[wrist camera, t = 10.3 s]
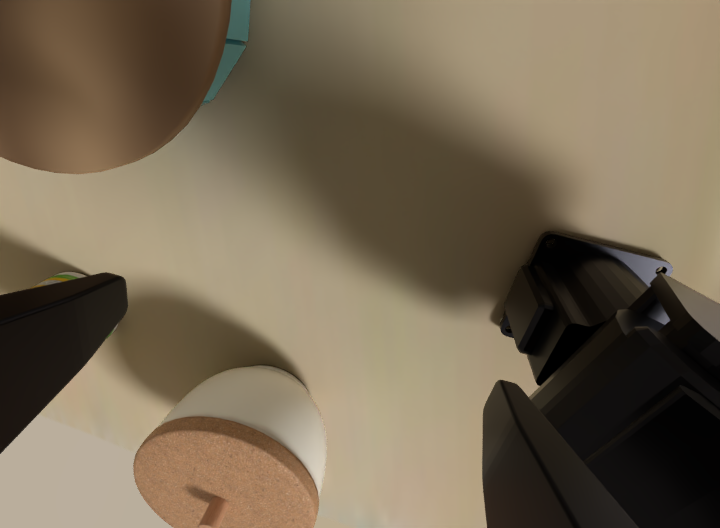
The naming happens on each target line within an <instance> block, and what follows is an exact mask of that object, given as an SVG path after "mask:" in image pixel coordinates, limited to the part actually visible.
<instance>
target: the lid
mask: <svg viewBox="0 0 720 528" xmlns="http://www.w3.org/2000/svg"><path fill="white" fill-rule="evenodd" d="M231 3H232V0H0V157H2V158H5V159H7V160H9V161H12V162H15V163H18V164H21V165H24V166H27V167H30V168H34V169H38V170H44V171H49V172H54V173H68V174H84V173H94V172H102V171H105V170H109V169H112V168H116V167H119V166H123V165H126V164H129V163H132V162H135V161H138V160H140V159H142V158H144V157H146V156H148V155H150V154H152V153H154V152H156V151H157V150H158V149H160V148H161V147H163V146H164V145H165V144H167V143H168V142H170V141H171V140H172V139H173V138H174V137H175V136H176V135H177V134H178V133H179V132H180V131H181V130H182V129H183V128H184V127H185V126H186V125H187V124H188V123H189V121H190V120H191V118H192V117H193V116H194V114H195V113H196V111H197V110H198V109H199V107H200V106H201V104H202V103H203V101H204V99H205V97H206V95H207V93H208V91H209V89H210V87H211V85H212V83H213V81H214V78H215V75H216V72H217V69H218V66H219V64H220V61H221V58H222V55H223V51H224V47H225V42H226V37H227V32H228V28H229V23H230V14H231Z"/></svg>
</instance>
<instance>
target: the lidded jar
mask: <svg viewBox="0 0 720 528" xmlns="http://www.w3.org/2000/svg"><path fill="white" fill-rule="evenodd" d="M326 458H327V438H326V431H325V425H324V422H323V418H322V416H321V413H320V411H319V409H318V407H317V405H316V403H315V401H314V400H313V399H312V397H311V396H310V394H309V392H308V390H307V389H306V387H305V386H304V385H303V384H302V382H301V381H300V380H299V379H297V378H296V377H295V376H293V375H292V374H290V373H289V372H287V371H284V370H282V369H280V368H277V367H273V366H267V365H255V366H250V367H239V368H234V369H230V370H227V371H223V372H221V373H218V374H216V375H214V376H212V377H210V378H208V379H207V380H205V381H203V382H202V383H200V384H199V385H198V386H196V387H195V388H194V389H193V390H191V391H190V392H189V393H188V394H187V395H186V396H185V397H184V398H183V399H182V400H181V401H180V402H179V403H178V404H177V405H176V406H175V407H174V408H173V409H172V410H171V411H170V412H169V414H168V415H167V416H166V417H165V418H164V420H163V421H162V422H161V423H160V425H159V426H158V427H157V428H156V429H155V430H154V431H153V432H152V433H151V434H150V435H149V436H148V437H147V438H146V439H145V441H144V442H143V443H142V445H141V446H140V448H139V449H138V451H137V453H136V455H135V460H134V465H133V466H134V477H135V482H136V485H137V487H138V489H139V491H140V493H141V495H142V496H143V498H144V500H145V501H146V502H147V504H148V505H149V506H150V507H151V508H152V509H153V510H154V512H155V513H156V514H157V515H159V516H160V517H161V518H162V519H163V520H164V521H165V522H167V523H168V524H169V525H171V526H172V527H174V528H313V527H314V525H315V522H316V518H317V514H318V507H319V498H320V494H321V490H322V485H323V481H324V475H325V467H326Z"/></svg>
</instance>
